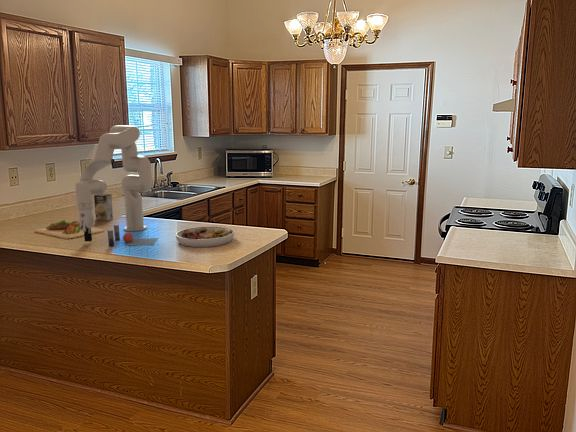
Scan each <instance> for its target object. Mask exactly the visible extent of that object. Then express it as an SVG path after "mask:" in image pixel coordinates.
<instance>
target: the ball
mask: <svg viewBox="0 0 576 432" xmlns="http://www.w3.org/2000/svg"><path fill="white" fill-rule="evenodd" d="M122 239H123V241H124V242H125V243H126V244H127V243H129V242H131V241H132V240H133V239H134V236H133V234H132V233H130V232H126V233H124V234H123V237H122Z"/></svg>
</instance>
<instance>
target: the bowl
mask: <svg viewBox="0 0 576 432" xmlns="http://www.w3.org/2000/svg"><path fill="white" fill-rule="evenodd" d="M234 237H235V231H234V229H232V228H230V227H225V226H224V227H223V226H215V225H214V226H213V225H212V226H209V225H208V226H196V227H188V228H184V229H181V230H179V231H176V233H175V238H176V241H177V242H178V243H179V244H180V245H182V246H185V247H191V248H211V247H212V248H213V247H218V246H223V245H226V244H228V243H230V242H231V241H232V240H233V239H234Z"/></svg>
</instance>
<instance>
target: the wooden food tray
mask: <svg viewBox="0 0 576 432" xmlns="http://www.w3.org/2000/svg"><path fill="white" fill-rule="evenodd" d="M34 232H35V233H36V232H39V233H38V234H40V233H44V234H43V235H45V234H49V235H53V236H52V237H54V236H57V237H56V238H58V237H62V238H61V239H63V238H70V239H69V240H72V239H71V238H74V239H77V238H76V237H79V238H81V237H80V236H83V237H84V232H83V229H81V228H80V221H77V220H72V221H71V222H70V221H66V220H65V219H61V220H60V221H59V222H55V223H51V224H49V225H47V226H46V227H43V228H37V229H34ZM100 232H101V233H104V232H105V230H104V229H103V228H99V227H95V226H93V227H92V228H91V234H92V235H95V233H96V234H100ZM49 235H48V236H49Z"/></svg>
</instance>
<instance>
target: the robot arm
mask: <svg viewBox="0 0 576 432" xmlns="http://www.w3.org/2000/svg"><path fill="white" fill-rule="evenodd" d="M140 133H141V132H140V129H139V128H138V127H137V126H136V125H127V124H126V125H113V126H111V128H110V129H109V132H108V133H103V134H101V136H100V137H99V141H98V144H97V146H96V147H97V148H96V151H95V154H94V158H93V159H92V160H91V161H90V162H89V163H88V164H87V165H86V167H85V168H84V169H83V170H82V172H81V174H80V178H79V181H78V182H75V185H74V186H75V197H76V206H77V207H76V208H77V211H78V217H79V218H78V220H79V222H80V228H81V229H83V232H84V236H83V238H84V242H91V241H93V234H91V228H92V227H95V226H96V219H95V212H94V197H93V196H94V195H97V194H105V193H106V191H107V188H108V186H107V183H106V182H105V181H103V180H102V179H93V178H94V176H95V175H96V174H97V173H98V172H99V171H100V170H102V169H105V168H107V167H108V166H110V165H111V163H112V159H113V155H114V152H115V150H120V151H121V159H122V161H121V162H122V168H123V170H124V171H125V173H126V172H127V173H132V174H127V175H125V176H123V177H122V179H121V189H122V191H123V196H124V206H125V208H124V210H125V222H126V226H125V227H124V228H123V230H124V231H126V232H137V231H144V230H146V229H147V228H148V227H147V225H144V224H145V223H144V210H143V197H142V195H141V193H148V192H150V191H151V189H152V186H153V180H152V179H153V176H152V165H151V161H150V160H149V158H148V157H147V156H144V155H139V153H138V147H137V144H136V141H138V140H139V139H140V136H141V134H140Z"/></svg>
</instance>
